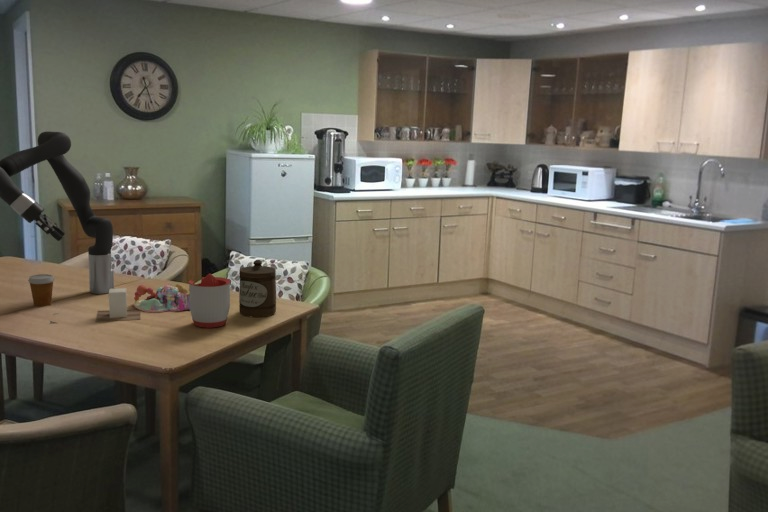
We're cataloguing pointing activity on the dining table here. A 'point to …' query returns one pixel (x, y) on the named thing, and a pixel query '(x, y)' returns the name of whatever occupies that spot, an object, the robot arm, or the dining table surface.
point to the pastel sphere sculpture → (163, 299)
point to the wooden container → (257, 290)
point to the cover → (118, 302)
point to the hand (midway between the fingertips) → (62, 237)
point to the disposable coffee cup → (41, 289)
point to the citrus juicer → (209, 301)
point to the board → (105, 317)
